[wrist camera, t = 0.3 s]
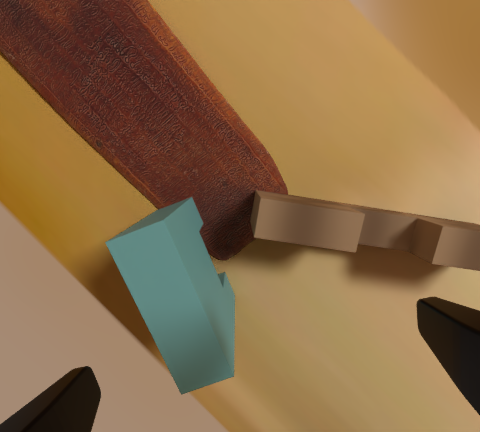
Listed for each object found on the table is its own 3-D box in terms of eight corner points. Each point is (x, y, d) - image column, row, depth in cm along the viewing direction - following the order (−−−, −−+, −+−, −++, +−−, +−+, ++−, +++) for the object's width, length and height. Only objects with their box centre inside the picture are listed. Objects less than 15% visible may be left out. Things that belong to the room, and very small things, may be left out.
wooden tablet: (-41, 2, 20) (-66, -12, 18) (56, -109, 18) (39, -135, 17) (212, 272, 24) (210, 281, 22) (305, 196, 23) (310, 198, 21)
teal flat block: (234, 295, 24) (234, 376, 15) (201, 307, 24) (181, 394, 15) (192, 196, 22) (163, 219, 13) (157, 209, 22) (105, 242, 13)
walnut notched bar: (475, 223, 23) (541, 241, 18) (465, 253, 23) (528, 278, 18) (255, 189, 22) (260, 198, 17) (250, 220, 22) (254, 237, 17)
